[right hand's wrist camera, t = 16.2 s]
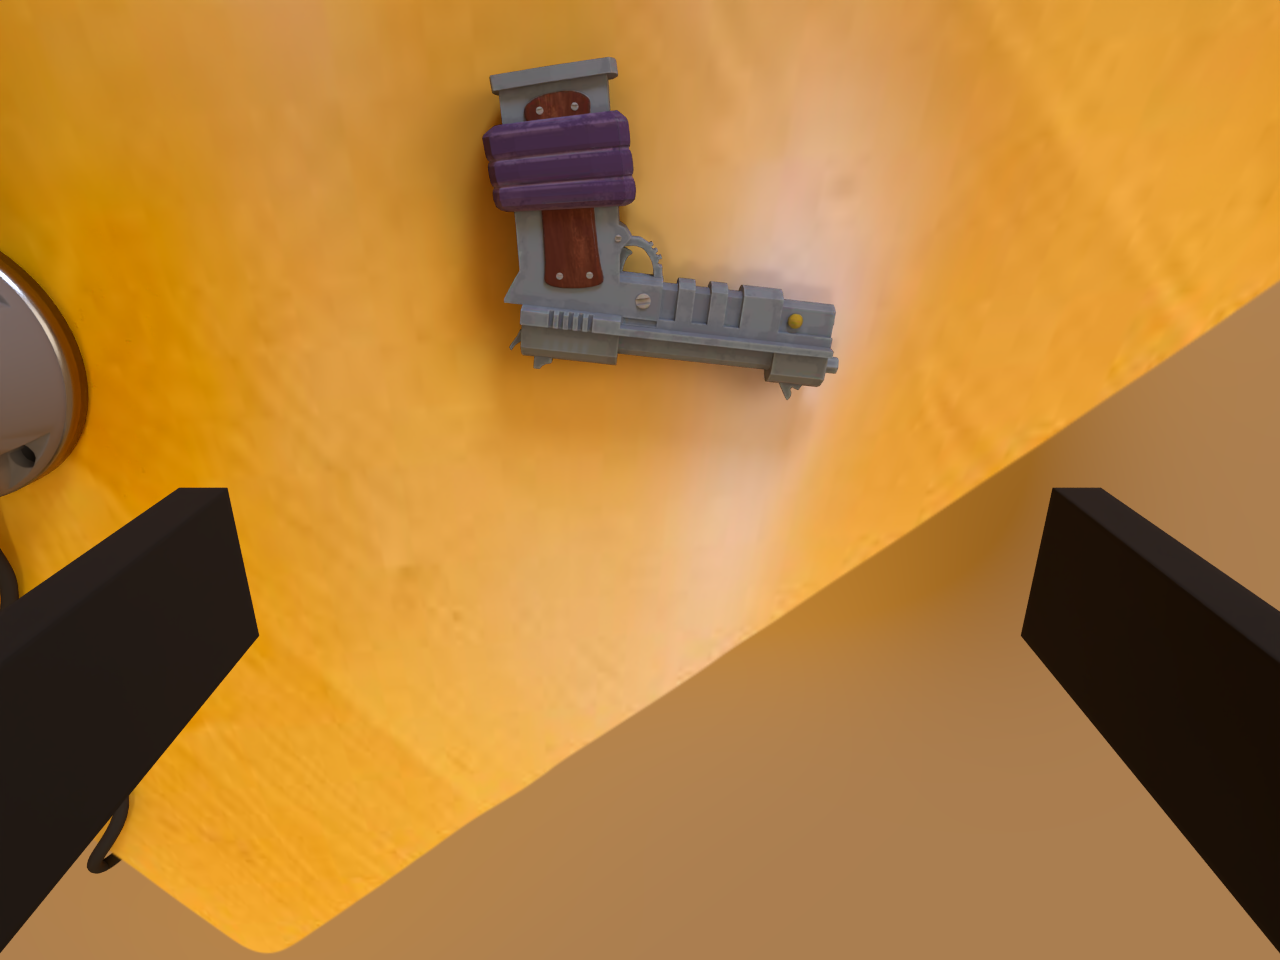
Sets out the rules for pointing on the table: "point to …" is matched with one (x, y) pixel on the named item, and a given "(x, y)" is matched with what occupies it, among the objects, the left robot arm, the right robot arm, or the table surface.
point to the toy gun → (619, 246)
